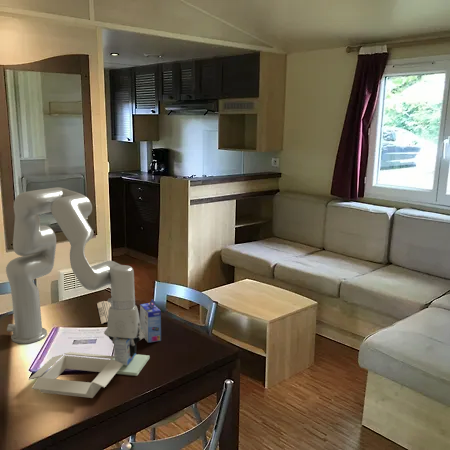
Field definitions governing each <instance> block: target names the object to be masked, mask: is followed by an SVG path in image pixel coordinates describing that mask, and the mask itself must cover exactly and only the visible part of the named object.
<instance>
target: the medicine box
mask: <svg viewBox="0 0 450 450" xmlns="http://www.w3.org/2000/svg"><path fill="white" fill-rule="evenodd" d="M130 345H131V342H130V339H129V338H117V339H116V340H115V341H114V344H113V349H114V350H113V351H114V355H115V360H116V361H118V362H120V363H122V364H123V365H128V364H129V363H130V361H131V360H132V359H133V358H134V356H135V355H136V354H137V352H136V353H135V354H134V355H133V357H131V356H130Z"/></svg>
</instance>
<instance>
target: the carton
mask: <svg viewBox="0 0 450 450" xmlns="http://www.w3.org/2000/svg"><path fill="white" fill-rule="evenodd" d="M114 358H115V356H114V355H106V354H95V353H94V354H93V353H85V352H84V353H83V352H73V351H72V352H71V351H69V352H65V353H64V354H59V355H55V356H52V357H51V358H50V359H49V360H48V361H46V363H44V365H42V366H41V367H40V368H38V370H37V371H36V372H35V373H33V374H32V375H31V376H30V377H29V378H28V380H33V379H36V380H35V382H34V384H33V385H32V387H31V390H38V391H39V392H40V393H43V394H44V393H45V394H51V395H59V396H60V395H62V396H71V397H80V398H88V399H89V398H90V399H93V398H94V397H95V396H96V394H97V393H98V392H99V391H100V390H101V388H104V389H105V387H107V385H108V384H109V383H110V382H111V380H113V378H114V376H116V373H117V372H118V370H119V369H120V368H121V367H122V365H123V364H122V363H120V362H118V361H116V360H113V359H114ZM111 359H112V360H111ZM66 369H67V370H74V371H75V370H77V371H85V372H86V371H87V372H95V373H97V372H98V374H97V375H96V377H95V378H94V379H93V380H92V381H91V382H89V381H87V382H86V381H79V380H68V379H58V377H59V376H60V375H61V374H62V373H64V371H65V370H66Z"/></svg>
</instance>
